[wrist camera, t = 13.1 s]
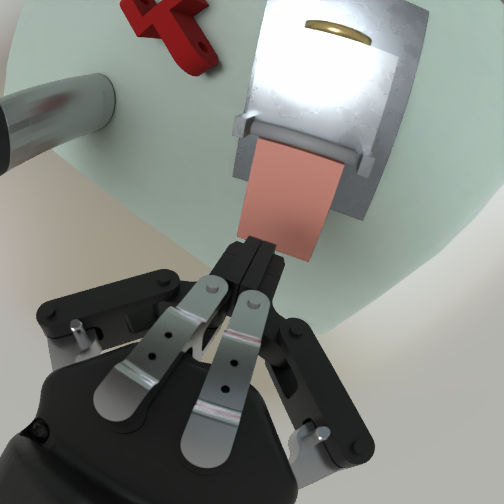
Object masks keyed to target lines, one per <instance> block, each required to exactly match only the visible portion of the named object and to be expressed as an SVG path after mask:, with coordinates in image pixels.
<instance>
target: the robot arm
mask: <svg viewBox="0 0 504 504" xmlns="http://www.w3.org/2000/svg"><path fill="white" fill-rule="evenodd" d="M114 104H115V96H114V90H113V87H112V84H111V83H110V81H109V80H108V79H107V77H106V76H104V75H102V74H99V73H96V74H89V75H83V76H77V77H72V78H67V79H62V80H58V81H54V82H50V83H46V84H42V85H38V86H35V87H31V88H28V89H25V90H21V91H18V92H15V93H13V94H10V95H7V96H4V97H2V98H0V176H1V175H2V174H4V173H5V172H7V171H9V170H11V169H12V168H14V167H16V166H18V165H20V164H22V163H23V162H25V161H27V160H29V159H31V158H33V157H35V156H37V155H39V154H41V153H43V152H45V151H47V150H49V149H52V148H54V147H56V146H58V145H61V144H63V143H65V142H68V141H70V140H72V139H75V138H77V137H80V136H83V135H85V134H88V133H90V132H93V131H96V130H99V129H101V128H103V127H104V126H105V125H107V123H108V122H109V121H110V119H111V117H112V114H113V110H114ZM276 246H277V244H274V243H271V242H268V241H265V240H262V239H259V238H256V237H253V236H250V235H249V236H248V238H247V239H246V241H245V243H241V242H238V241H236V242H234V243H232V244H230V245H229V246H228V248H227V249H226V250H225V253H223V255H222V257H221V258H220V259H219V261H218V262H217V264H216V265H215V267H214V268H213V270H212V271H211V273H210V274H209V275H207V276H204V277H202V278H201V279H199V281H197V282H188V281H180V279H179V276H178V275H177V273H175V272H174V271H172V270H169V269H160V270H157V271H153V272H149V273H146V274H142V275H138V276H135V277H131V278H128V279H124V280H121V281H117V282H113V283H110V284H106V285H103V286H99V287H96V288H92V289H89V290H85V291H82V292H78V293H75V294H72V295H68V296H64V297H61V298H57V299H54V300H50V301H47V302H45V303H43V304H42V305H41V306H40V307H39V309H38V311H37V314H36V319H37V321H38V323H39V325H40V326H41V328H42V330H43V332H44V334H45V336H46V337H47V340H48V347H49V353H50V358H51V363H52V369H53V372H52V373H51V374H50V375H49V376H48V377H47V378H46V380H45V381H44V383H43V386H42V390H41V397H40V403H39V408H38V411H37V414H36V417H35V419H34V420H33V421H32V423H31V424H30V425H28V426H27V427H26V428H25V429H24V430H22V431H21V432H19V433H18V434H16V435H15V436H14V437H13V438H12V439H11V440H10V441H9V443H8V445H7V447H6V448H5V450H4V451H3V453H2V455H1V457H0V504H294V503H295V501H296V498H297V494H298V489H301V488H303V487H305V486H307V485H310V484H312V483H314V482H316V481H318V480H320V479H322V478H324V477H327V476H328V475H331V474H332V473H334V472H337V471H340V470H344V469H347V468H351V467H354V466H357V465H360V464H363V463H366V462H367V461H369V460H370V459H371V457H372V456H373V454H374V450H375V444H374V440H373V438H372V436H371V435H370V433H369V431H368V429H367V427H366V426H365V424H364V422H363V420H362V418H361V417H360V415H359V413H358V411H357V409H356V407H355V406H354V404H353V402H352V400H351V399H350V397H349V395H348V393H347V391H346V390H345V388H344V386H343V384H342V383H341V381H340V379H339V377H338V375H337V374H336V372H335V370H334V368H333V366H332V365H331V363H330V361H329V359H328V358H327V356H326V354H325V352H324V351H323V349H322V347H321V345H320V344H319V342H318V340H317V339H316V337H315V335H314V333H313V331H312V330H311V328H310V326H309V325H308V324H307V323H306V322H305V321H303V320H301V319H298V318H288V319H285V318H283V317H282V316H280V315H279V314H278V313H277V312H276V311H275V309H274V307H273V304H272V300H273V297H274V294H275V291H276V288H277V286H278V283H279V280H280V277H281V274H282V272H283V269H284V266H285V263H284V259H283V257H281V256H278V255H275V254H274V253H275V250H276ZM226 315H227V316H230V317H231V319H230V322H229V324H228V327H227V329H226V330H225V331H224V333H223V336H222V338H221V341H220V343H219V346H218V349H217V351H216V354H215V357H214V359H213V362H212V364H209V363H204V362H201V360H202V357H203V355H204V353H205V352H206V350H207V349H208V347H209V346H210V344H211V342H212V341H213V339H214V338H215V336H216V335H217V333H218V332H219V330H220V328H221V326H222V323H223V321H224V319H225V317H226ZM140 338H142V339H141V341H140V342H136V343H132V344H129V345H126V346H123V347H120V348H118V349H115V350H112V351H109V352H106V353H104V354H101V351H102V350H105V349H109V348H112V347H115V346H118V345H122V344H124V343H127V342H131V341H134V340H137V339H140ZM100 354H101V355H100ZM258 355H259V356H260V357H262V358H263V359H265V364H266V367H267V369H268V371H269V374H270V376H271V378H272V381H273V383H274V385H275V387H276V389H277V392H278V394H279V396H280V398H281V400H282V403H283V405H284V407H285V409H286V411H287V413H288V416H289V418H290V420H291V422H292V424H293V426H294V428H295V430H296V431H294V432H293V433H292V434H291V436H290V437H289V440H288V446H289V449H290V458H289V460H288V459H287V456H286V454H285V452H284V449H283V447H282V444H281V442H280V439H279V437H278V434H277V432H276V429H275V427H274V424H273V422H272V419H271V417H270V414H269V412H268V409H267V407H266V404H265V402H264V400H263V398H262V396H261V395H260V394H259V392H258V391H257V390H256V389H255V388H254V387H253V386H252V385H251V384H250V381H251V378H252V375H253V371H254V368H255V364H256V360H257V357H258Z"/></svg>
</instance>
